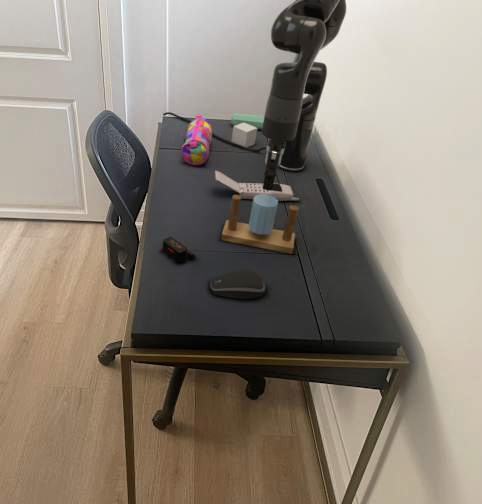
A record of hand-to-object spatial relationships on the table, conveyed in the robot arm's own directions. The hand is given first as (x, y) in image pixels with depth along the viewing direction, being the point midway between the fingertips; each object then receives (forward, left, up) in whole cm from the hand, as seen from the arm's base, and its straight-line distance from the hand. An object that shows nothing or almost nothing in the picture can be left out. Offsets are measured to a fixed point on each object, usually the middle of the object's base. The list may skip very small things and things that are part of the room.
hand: (269, 181), depth 116 cm
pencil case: (-50, +11, -17) cm, 54 cm away
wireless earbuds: (-2, -22, -17) cm, 28 cm away
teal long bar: (-59, +46, -17) cm, 76 cm away
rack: (0, 0, -17) cm, 17 cm away
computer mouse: (+14, -16, -17) cm, 27 cm away
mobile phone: (-18, +13, -17) cm, 28 cm away
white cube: (-51, +31, -17) cm, 62 cm away
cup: (0, 0, -13) cm, 13 cm away
